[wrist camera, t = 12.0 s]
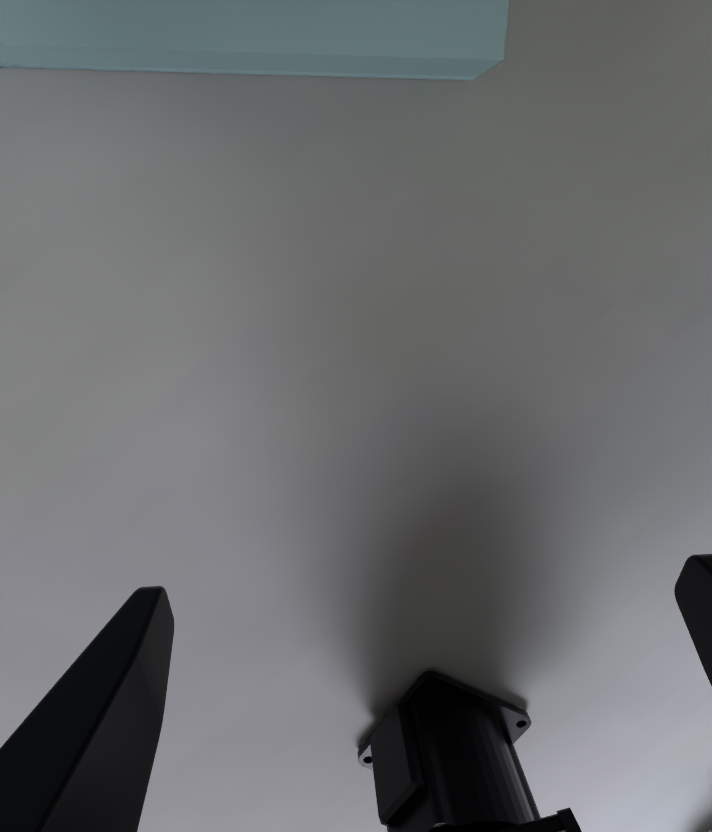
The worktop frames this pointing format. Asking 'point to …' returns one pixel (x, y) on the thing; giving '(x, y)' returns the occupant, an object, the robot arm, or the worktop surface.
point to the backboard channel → (258, 36)
